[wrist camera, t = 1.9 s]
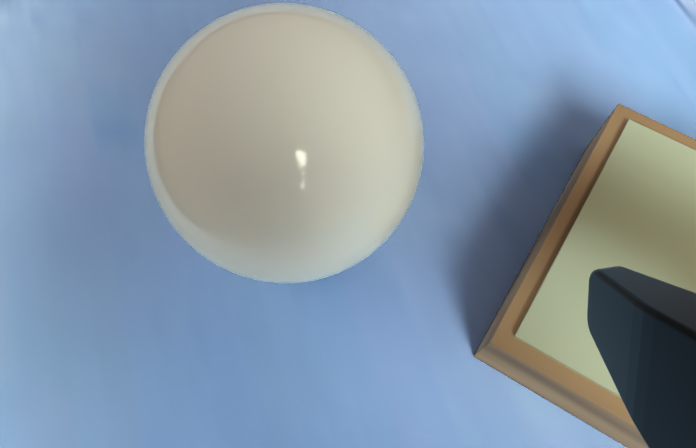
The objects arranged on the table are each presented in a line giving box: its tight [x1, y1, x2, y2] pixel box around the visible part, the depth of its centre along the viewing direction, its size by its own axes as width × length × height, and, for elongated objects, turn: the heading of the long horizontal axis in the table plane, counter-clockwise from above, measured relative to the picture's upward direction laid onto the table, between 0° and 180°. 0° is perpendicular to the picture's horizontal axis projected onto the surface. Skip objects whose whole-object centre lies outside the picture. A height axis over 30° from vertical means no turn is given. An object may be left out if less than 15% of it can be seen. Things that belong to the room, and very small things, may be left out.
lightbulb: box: [144, 3, 424, 284], centre depth 16 cm, size 6×6×11 cm
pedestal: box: [474, 104, 696, 448], centre depth 19 cm, size 9×9×3 cm
